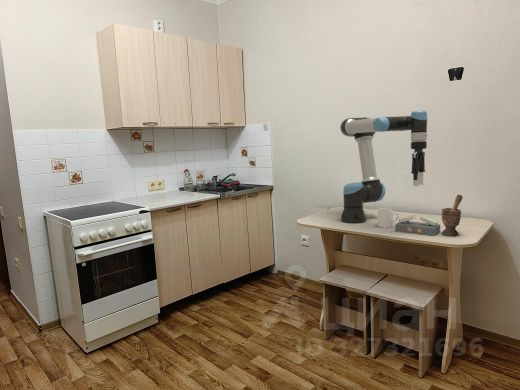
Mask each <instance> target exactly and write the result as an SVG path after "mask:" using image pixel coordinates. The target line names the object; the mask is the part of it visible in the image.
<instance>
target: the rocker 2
mask: <svg viewBox="0 0 520 390" xmlns="http://www.w3.org/2000/svg"><path fill="white" fill-rule="evenodd" d="M419 221H422V223H428V224H431V225H433V226H436V225H437V224H439V223H438V222H439V221H437V220H435V219H432V218H430V217H428V216H425V215H421V216H419Z"/></svg>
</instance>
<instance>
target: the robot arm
mask: <svg viewBox="0 0 520 390" xmlns="http://www.w3.org/2000/svg"><path fill="white" fill-rule="evenodd" d="M427 128H428V111H427V110H412V111H411V112H410V115H405V116H379V117H375V118H373V117H372V118H371V117H348V118H346V119H343V121H342V122H341V123H340V128H339V129H340V131H341V133H342V134H343V136H346V137H349V138H350V137H351V138H353V137H354V141H355V142H356V143H357V146H358V148H357V149H358V154H359V155H358V156H359V161H360V168H361V169H360V170H361V175H362V180H361V181H360V182H357V181H356V182H350V183H347V184H345V185H344V186H343V191H342V193H343V210H342V214H341V217H340V219H341V220H340V221H341V222H342V223H346V224H347V223H348V224H361V223H364V222H367V217H366V213H365V211H364V204H366V203H375V202H380V201H382V200H383V199H384V197H385V195H386V186H385V185H384V183H382V182H381V179H380V178H379V177H378V176H377V170H376V168H377V167H376V162H375V155H374V149H373V147H374V146H373V142H372V140H373V139H374V138H375V137H374V135H375V134H376V133H378V132H380V133H381V132H396V131H397V132H401V131H402V132H405V131H410V141H411V143H410V149H411V150H414V151H413V153H412V154H411V160H412V161H411V175H412V186H413V187H420V185H424V173H425V172H426V169H425V168H426V167H425V162H426V159H425V155H426V153H425V151H424V150H425V149H427V145H428V143H427V139H428V136H429V134H428V129H427Z"/></svg>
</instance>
